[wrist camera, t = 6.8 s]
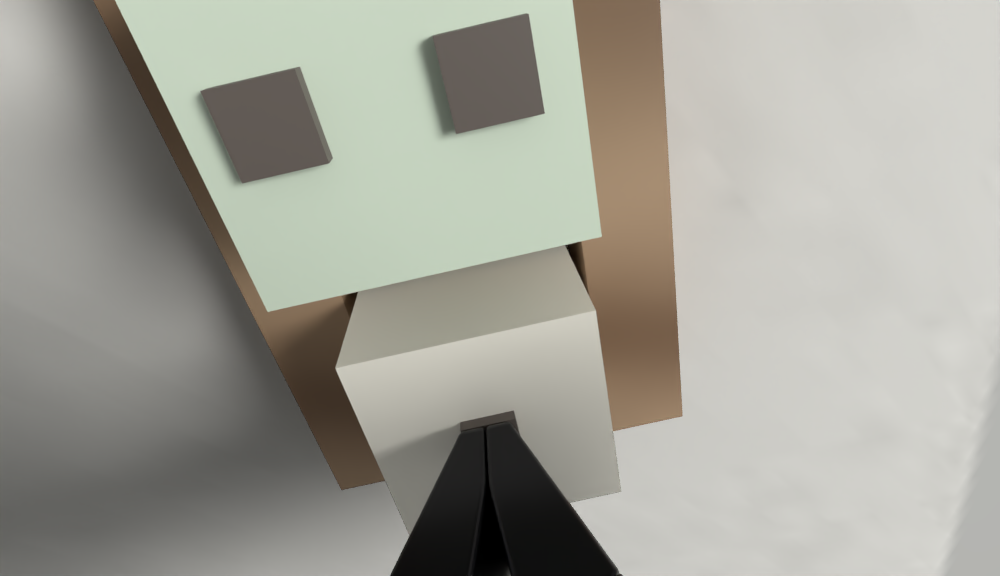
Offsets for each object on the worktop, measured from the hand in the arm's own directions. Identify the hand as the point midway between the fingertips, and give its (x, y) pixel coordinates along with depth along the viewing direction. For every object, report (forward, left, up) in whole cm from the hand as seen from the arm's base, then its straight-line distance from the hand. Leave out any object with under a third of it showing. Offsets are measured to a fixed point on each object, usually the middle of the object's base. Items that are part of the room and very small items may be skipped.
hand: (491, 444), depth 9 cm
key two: (+6, 0, -3) cm, 6 cm away
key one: (0, 0, -4) cm, 4 cm away
